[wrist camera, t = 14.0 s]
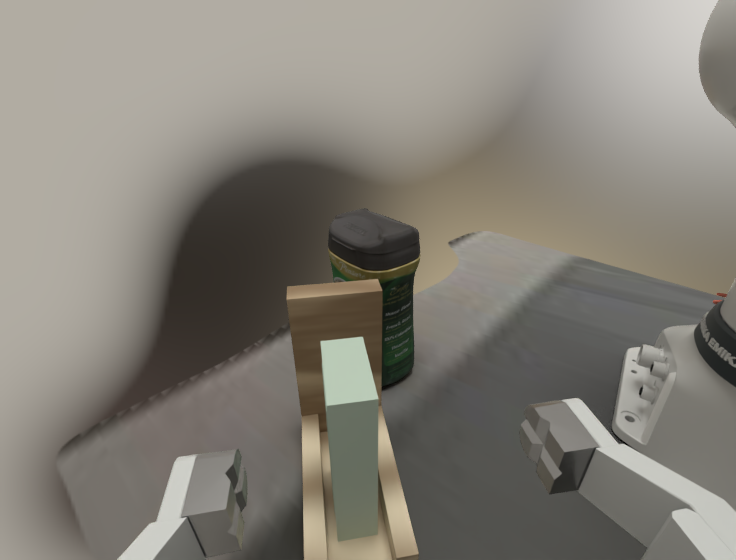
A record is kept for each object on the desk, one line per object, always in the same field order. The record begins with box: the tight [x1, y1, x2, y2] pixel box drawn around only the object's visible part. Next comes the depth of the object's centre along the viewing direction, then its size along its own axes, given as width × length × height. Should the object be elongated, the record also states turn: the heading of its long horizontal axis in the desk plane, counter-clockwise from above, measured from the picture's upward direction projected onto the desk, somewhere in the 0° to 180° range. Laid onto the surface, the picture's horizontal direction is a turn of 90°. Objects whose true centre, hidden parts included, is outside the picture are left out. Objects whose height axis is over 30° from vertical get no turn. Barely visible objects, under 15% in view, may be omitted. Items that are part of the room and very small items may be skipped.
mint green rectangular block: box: [320, 337, 379, 542], centre depth 28 cm, size 6×3×14 cm, turn 9°
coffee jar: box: [328, 208, 420, 386], centre depth 43 cm, size 10×8×19 cm
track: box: [287, 279, 419, 560], centre depth 29 cm, size 15×8×16 cm, turn 9°
